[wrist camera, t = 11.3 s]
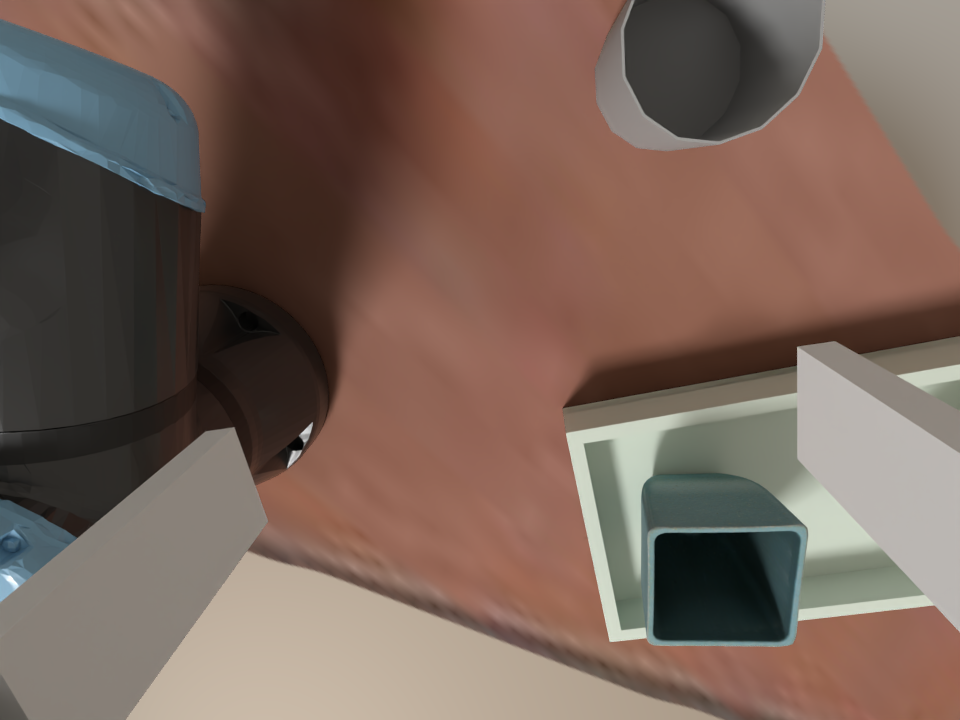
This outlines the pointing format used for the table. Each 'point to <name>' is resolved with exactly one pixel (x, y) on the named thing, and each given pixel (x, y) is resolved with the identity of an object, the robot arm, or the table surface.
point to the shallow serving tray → (741, 452)
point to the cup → (704, 68)
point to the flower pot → (719, 562)
